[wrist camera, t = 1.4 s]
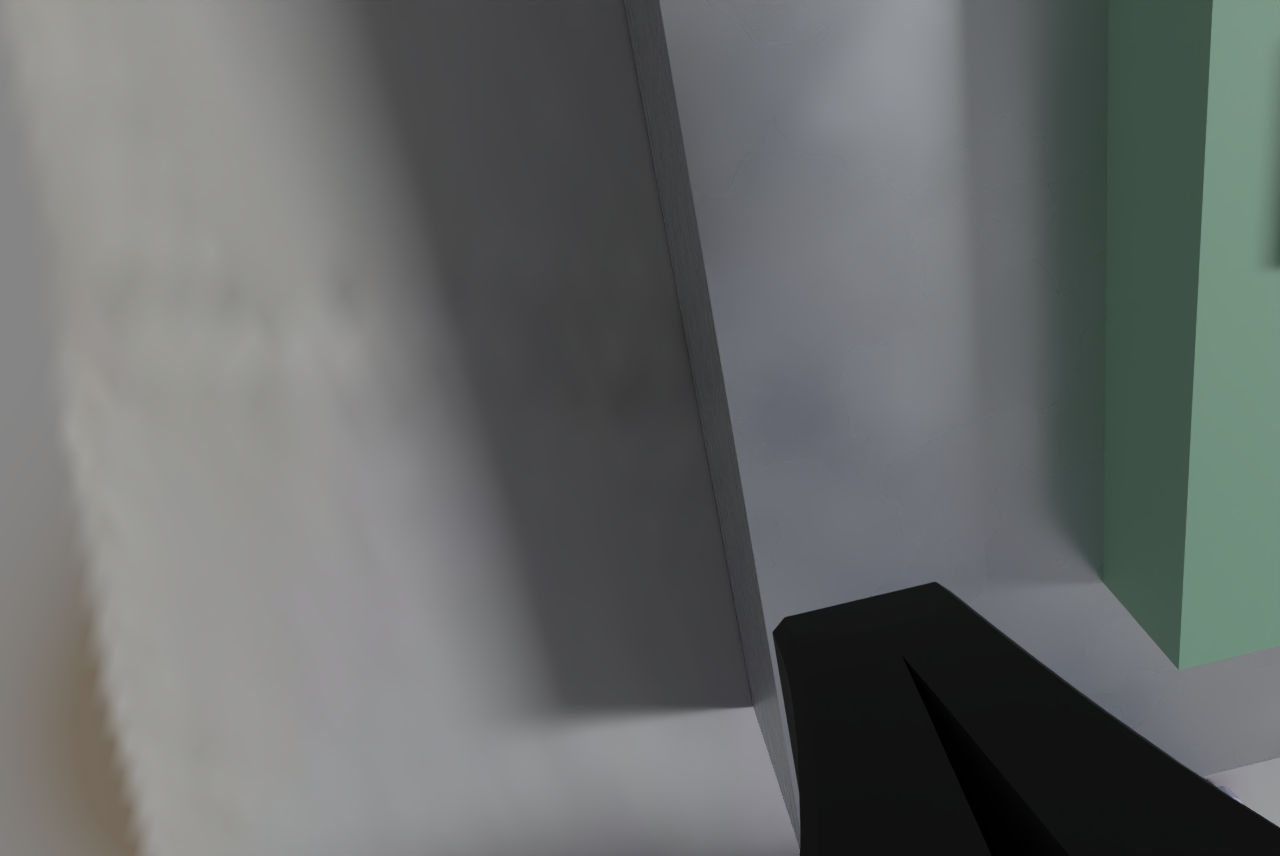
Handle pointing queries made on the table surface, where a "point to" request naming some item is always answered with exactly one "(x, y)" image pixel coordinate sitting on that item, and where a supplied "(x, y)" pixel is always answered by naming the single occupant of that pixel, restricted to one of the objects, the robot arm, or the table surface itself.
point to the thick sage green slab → (1194, 324)
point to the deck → (912, 331)
